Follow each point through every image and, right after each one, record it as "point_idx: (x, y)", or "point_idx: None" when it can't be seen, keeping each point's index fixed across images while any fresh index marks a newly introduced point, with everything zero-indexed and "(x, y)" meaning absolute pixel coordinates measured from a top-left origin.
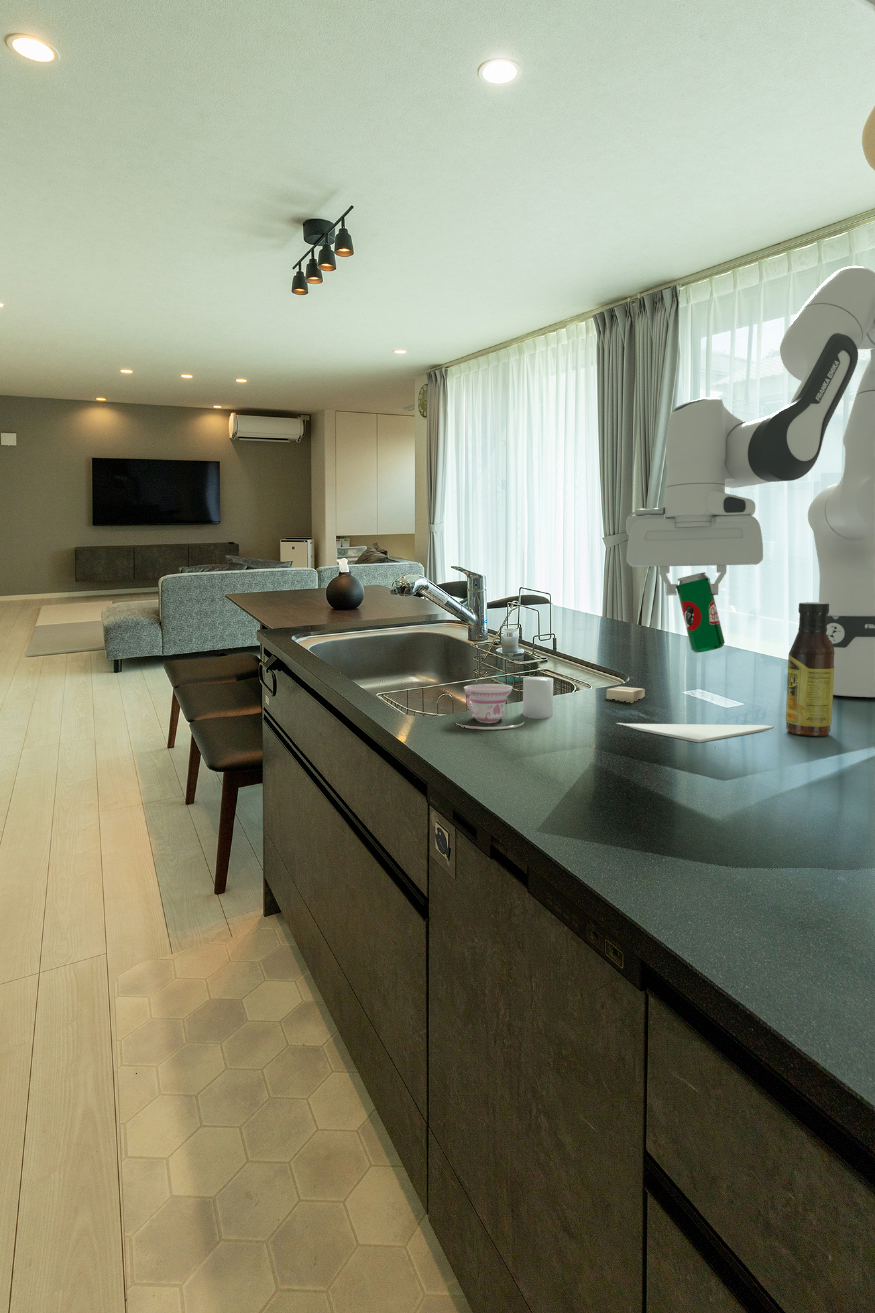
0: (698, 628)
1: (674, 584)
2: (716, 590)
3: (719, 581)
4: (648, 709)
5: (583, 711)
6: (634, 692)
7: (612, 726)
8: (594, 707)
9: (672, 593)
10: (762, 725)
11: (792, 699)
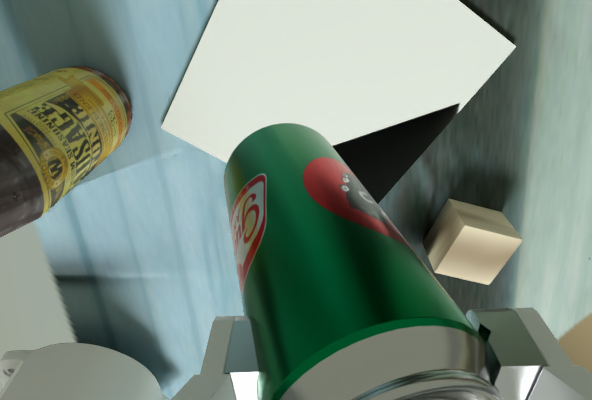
0: (313, 154)
1: (510, 365)
2: (220, 332)
3: (188, 388)
4: (413, 249)
5: (553, 184)
6: (457, 233)
7: (500, 16)
8: (524, 235)
9: (494, 310)
10: (182, 134)
11: (80, 98)
